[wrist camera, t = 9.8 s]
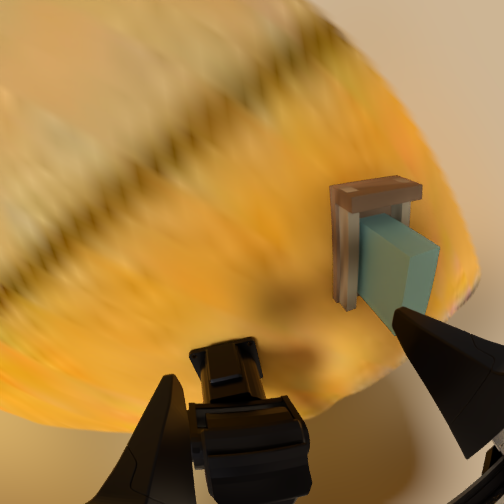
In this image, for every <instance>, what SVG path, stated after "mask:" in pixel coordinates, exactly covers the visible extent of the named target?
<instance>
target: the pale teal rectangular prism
mask: <svg viewBox="0 0 504 504" xmlns="http://www.w3.org/2000/svg"><path fill="white" fill-rule="evenodd" d="M439 250H440V247H439V246H438V245H436V244H435V243H433V242H432V241H430V240H429V239H427V238H425V237H424V236H422V235H421V234H419V233H417V232H416V231H414V230H413V229H411V228H409V227H408V226H406V225H404V224H403V223H401V222H399V221H398V220H396V219H394V218H392V217H391V216H389V215H387V214H385V213H382V214H378V215H373V216H369V217H364V218H359V267H358V286H357V292H358V294H359V295H360V296H361V297H362V298H363V299H364V300H365V302H366V303H367V304H368V305H369V306H370V307H371V309H372V310H373V311H374V312H375V313H376V314H377V316H378V317H379V318H380V319H381V320H382V321H383V323H384V324H385V325H386V326H387V327H388V329H389V330H390V331H391V332H392V333H393V335H394V336H396V334H395V332H394V330H393V328H392V320H393V315H394V311H395V309H397V308H400V307H402V306H404V307H407V308H409V309H412V310H414V311H417V312H419V313H421V314H424V315H425V312H426V308H427V305H428V301H429V297H430V293H431V289H432V285H433V280H434V276H435V271H436V266H437V261H438V256H439Z"/></svg>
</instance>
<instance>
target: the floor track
mask: <svg viewBox="0 0 504 504" xmlns="http://www.w3.org/2000/svg"><path fill="white" fill-rule="evenodd" d="M420 199H422V185H421V184H419V183H416V182H414V181H411V180H408V179H406V178H403V177H400V176H397V175H396V176H389V177H382V178H375V179H369V180H362V181H356V182H350V183H344V184H338V185H332V186H330V201H331V218H332V242H333V299H334V300H335V302H336V303H339V302H340V304H341V305H342V306H343V308H344V309H345V310H346V312H347V311H350V310H353V309H355V308H356V300H357V296H360V295H359V294H358V292H357V286H358V267H359V218H364V217H369V216H373V215H378V214H382V213H385V214H387V215H389V216H391V217H392V218H394V219H396V220H398V221H399V222H401V223H403V224H404V225H406V226H408V227H409V222H410V205H411V201H415V200H420Z"/></svg>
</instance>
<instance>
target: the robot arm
mask: <svg viewBox="0 0 504 504" xmlns="http://www.w3.org/2000/svg"><path fill="white" fill-rule="evenodd" d="M392 328H393V330H394V332H395V334H396V336H397V338H398V340H399V342H400V344H401V346H402V348H403V350H404V352H405V354H406V355H407V357H408V359H409V360H410V362H411V364H412V365H413V367H414V368H415V370H416V371H417V373H418V374H419V376H420V378H421V379H422V381H423V382H424V384H425V386H426V388H427V389H428V391H429V393H430V394H431V396H432V398H433V399H434V401H435V403H436V404H437V406H438V408H439V410H440V411H441V413H442V415H443V417H444V418H445V420H446V422H447V424H448V425H449V427H450V429H451V431H452V433H453V435H454V437H455V439H456V441H457V442H458V444H459V446H460V448H461V450H462V452H463V454H464V456H465V458H466V459H469V458H470V457H471V456H473V455H474V454H475V453H476V452H478V451H479V450H480V449H481V448H483V447H484V446H485V445H486V444H487V443H488V442H490V441H491V440H492V441H493V443H494V445H493V446H492V447H491V448H490V449H489V450H488V451H487V452H486V457H485V461H484V466H483V471H482V476H481V477H480V478H479V479H477V480H476V481H475V482H474V483H473V484H472V485H470V486H469V487H468V488H467V489H466V490H465V491H463V492H462V493H461V494H459V495H458V496H457V497H456V498H454V499H453V500H451V501H450V502H449V503H447V504H504V345H501V344H497V343H494V342H491V341H488V340H485V339H483V338H480V337H478V336H475V335H473V334H470V333H468V332H465V331H462V330H460V329H458V328H456V327H453V326H451V325H448V324H446V323H443V322H441V321H439V320H436V319H434V318H431V317H429V316H426V315H424V314H421V313H419V312H417V311H414V310H412V309H409V308H407V307H404V306H402V307H400V308H397V309H395V311H394V315H393V320H392ZM249 342H251V343H249ZM193 355H195V356H193ZM189 358H190V360H191V362H192V364H193V366H194V368H195V370H196V372H197V374H198V376H199V378H200V380H201V384H202V394H203V404H195V403H189V410H186V404H185V398H184V392H183V388H182V386H181V384H180V382H179V381H178V379H177V377H176V376H175V375H174V374H168V375H164V376H163V377H162V379H161V381H160V383H159V385H158V387H157V389H156V390H155V392H154V394H153V396H152V398H151V400H150V402H149V404H148V406H147V407H146V409H145V411H144V413H143V415H142V417H141V419H140V421H139V423H138V425H137V427H136V428H135V430H134V432H133V434H132V437H131V438H130V440H129V442H128V444H127V446H126V448H125V450H124V452H123V454H122V455H121V457H120V459H119V461H118V463H117V464H116V466H115V468H114V469H113V471H112V472H111V474H110V475H109V477H108V478H107V480H106V481H105V483H104V484H103V486H102V487H101V489H100V490H99V492H98V493H97V494H96V495H95V496H94V497H93V499H91V500H90V501H89V502H87V503H85V504H196V496H195V488H194V478H193V468H192V462H194V467H195V470H202V469H204V470H205V477H206V482H207V487H208V491H209V494H210V495H211V496H212V497H213V498H214V500H215V501H216V502H217V503H218V504H294V503H295V501H296V500H297V498H298V497H301V496H305V495H308V494H309V491H310V488H311V485H312V480H311V475H310V471H309V466H308V458H307V454H308V452H309V448H310V439H309V433H308V429H307V427H306V425H305V422H304V421H303V419H302V418H301V416H300V415H299V413H298V412H297V410H296V408H295V407H294V405H293V404H292V402H291V401H290V399H289V398H288V396H287V395H286V396H281V397H278V398H270V399H266V396H265V393H264V389H263V386H262V383H261V378H262V377H263V374H262V370H261V366H260V362H259V358H258V353H257V349H256V345H255V341H254V339H253V338H246V339H242V340H237V341H233V342H229V343H225V344H220V345H216V346H211V347H207V348H202V349H197V350H192V351H190V352H189Z"/></svg>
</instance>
